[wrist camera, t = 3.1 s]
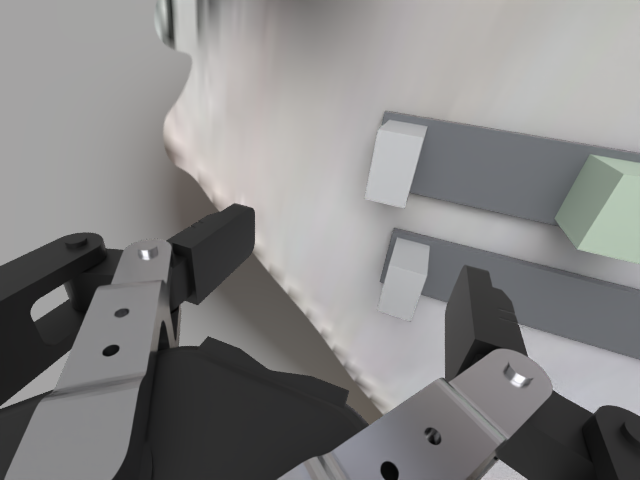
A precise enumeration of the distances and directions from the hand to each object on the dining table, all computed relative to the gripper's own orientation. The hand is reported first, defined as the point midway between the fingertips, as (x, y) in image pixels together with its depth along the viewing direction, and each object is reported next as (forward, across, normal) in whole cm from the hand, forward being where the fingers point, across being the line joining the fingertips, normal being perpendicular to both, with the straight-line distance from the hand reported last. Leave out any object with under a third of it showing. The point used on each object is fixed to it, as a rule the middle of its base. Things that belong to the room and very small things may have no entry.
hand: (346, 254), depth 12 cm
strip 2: (+18, -14, +10) cm, 25 cm away
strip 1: (+18, -11, 0) cm, 21 cm away
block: (+17, -15, 0) cm, 23 cm away
